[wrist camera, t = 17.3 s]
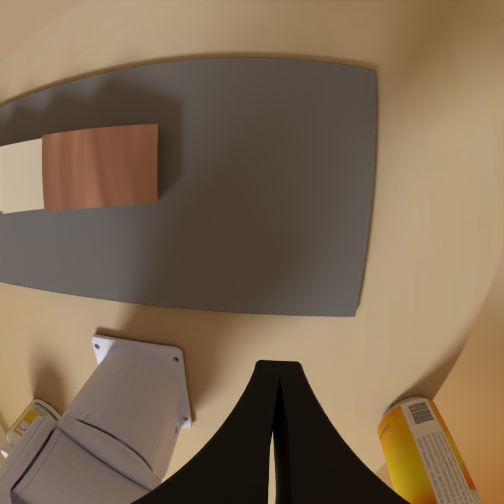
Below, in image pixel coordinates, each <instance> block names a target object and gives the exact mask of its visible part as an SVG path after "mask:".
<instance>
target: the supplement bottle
mask: <svg viewBox="0 0 504 504" xmlns="http://www.w3.org/2000/svg"><path fill="white" fill-rule="evenodd" d="M47 415H49V416H51V417H52V418H53V419H54V420H55V422H56V421H58V420H59V419H60V418H61V416H60V415H59V413H58V412H57V411H56V410H55V409H54V408H53V407H52V406H50V405H49V404H48V403H46V402H44V401H42V400H39V399H35V400H33V401H32V402H31V403H30V404H29V406H28V407H27V408H26V409H25V410H24V412H23V413H22V414H21V415H20V417H19V418H18V419H17V420H16V422H15V423H14V424H13V425H12V427H11V428H10V429H9V430H8V432H7V440H8V442H9V444H5V445H4V447H3V448H2V450H1V452H2V454H3V455H4V457H5V458H6V457H7V456H8V455H9V453H10V452H11V450H12V449H13V447H14V446H15V445H16V443H17V442H18V441H19V439H20V438H21V436H22V435H23V434H24V433H25V431H26V430H27V429H28V427H29V426H30V425H31V423H32V422H33V421H34V420H35V419H36V417H37V416H44V417H46V416H47Z"/></svg>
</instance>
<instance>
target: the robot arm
mask: <svg viewBox="0 0 504 504" xmlns="http://www.w3.org/2000/svg"><path fill="white" fill-rule="evenodd" d="M91 341H92V344H93V348H94V352H95V355H96V359H97V362H98V367H97V368H96V369H95V371H94V372H93V373H92V375H91V376H90V378H89V379H88V380H87V382H86V383H85V384H84V386H83V387H82V388H81V390H80V391H79V393H78V394H77V395H76V397H75V398H74V400H73V401H72V402H71V404H70V405H69V407H68V408H67V409H66V411H65V412H64V414H63V415H62V417H61V418H60V419H59V420H58V421H56V422H55V420H54V419H53V418H52V417H51V416H49V415H47V416H46V417H44V416H37V417H36V419H35V420H34V421H33V422H32V423H31V425H30V426H29V427H28V429H27V430H26V431H25V433H24V434H23V435H22V436H21V438H20V439H19V441H18V442H17V443H16V445H15V446H14V447H13V449H12V450H11V452H10V453H9V455H8V456H7V457H6V459H5V460H4V462H3V463H2V465H1V466H0V504H268V485H269V459H270V444H271V438H272V432H273V441H274V459H275V477H276V501H275V504H411V503H409V502H408V501H407V500H405V499H404V498H402V497H401V496H400V495H399V494H397V493H396V492H395V491H393V490H392V489H391V488H390V487H388V486H387V485H386V484H385V483H384V482H383V481H382V480H381V479H379V478H378V477H377V476H376V475H375V474H374V473H373V472H372V471H371V470H370V469H369V468H368V467H367V466H366V465H365V464H364V463H363V462H362V461H361V460H360V459H359V458H358V457H357V456H356V454H355V453H354V452H353V451H352V450H351V448H350V447H349V446H348V445H347V444H346V442H345V441H344V440H343V439H342V437H341V436H340V434H339V433H338V432H337V430H336V429H335V427H334V426H333V424H332V423H331V422H330V420H329V418H328V417H327V415H326V414H325V412H324V410H323V409H322V407H321V405H320V404H319V402H318V400H317V398H316V397H315V395H314V393H313V391H312V389H311V387H310V385H309V383H308V380H307V378H306V376H305V374H304V371H303V368H302V365H301V364H300V363H299V362H294V361H272V360H259V361H257V362H256V365H255V369H254V372H253V374H252V377H251V379H250V381H249V383H248V385H247V387H246V389H245V391H244V392H243V394H242V396H241V397H240V399H239V401H238V403H237V404H236V406H235V407H234V409H233V410H232V412H231V413H230V415H229V416H228V417H227V419H226V420H225V422H224V423H223V424H222V426H221V427H220V428H219V429H218V431H217V432H216V433H215V434H214V436H213V437H212V438H211V439H210V440H209V441H208V442H207V443H206V445H205V446H204V447H203V448H202V449H201V450H200V451H199V452H198V453H197V454H196V455H195V456H194V457H193V458H192V459H191V460H190V461H189V462H188V463H186V464H185V465H184V466H183V467H182V468H181V469H180V470H178V471H177V472H176V473H175V474H173V475H172V476H171V477H169V478H168V479H167V480H166V481H164V482H163V483H162V484H161V481H162V479H163V478H164V476H165V475H166V472H167V470H168V466H169V463H170V460H171V457H172V454H173V451H174V447H175V444H176V441H177V438H178V435H179V432H180V429H181V428H187V429H189V428H191V427H192V418H191V411H190V404H189V397H188V390H187V383H186V375H185V367H184V359H183V352H182V350H181V349H180V348H178V347H173V346H165V345H158V344H151V343H144V342H138V341H131V340H125V339H120V338H114V337H108V336H103V335H98V334H94V335H93V336H92V338H91ZM97 344H98V345H99V346H98V345H97ZM174 357H176V358H178V359H179V360H177V359H175V358H174Z"/></svg>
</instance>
